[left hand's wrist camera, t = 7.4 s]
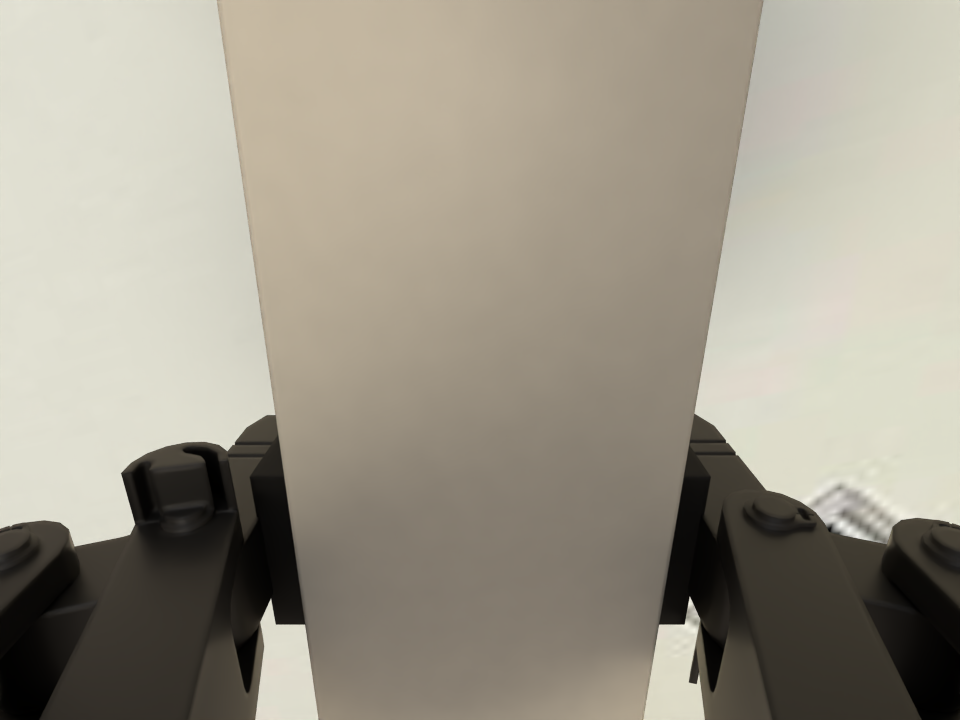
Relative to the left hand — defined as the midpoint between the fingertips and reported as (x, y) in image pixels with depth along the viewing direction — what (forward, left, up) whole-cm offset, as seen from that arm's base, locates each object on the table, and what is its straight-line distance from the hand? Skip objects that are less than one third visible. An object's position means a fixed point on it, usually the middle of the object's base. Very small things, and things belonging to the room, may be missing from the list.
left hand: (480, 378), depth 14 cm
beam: (+18, +14, -1) cm, 23 cm away
